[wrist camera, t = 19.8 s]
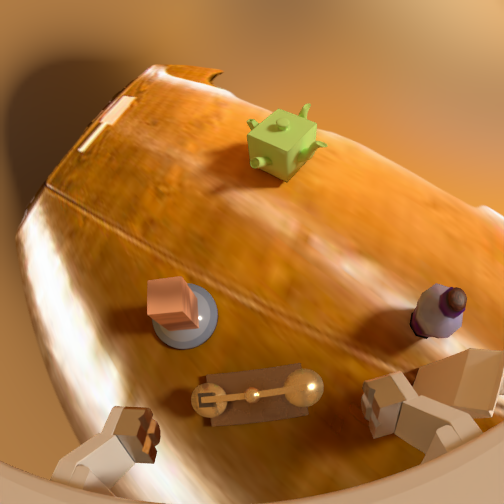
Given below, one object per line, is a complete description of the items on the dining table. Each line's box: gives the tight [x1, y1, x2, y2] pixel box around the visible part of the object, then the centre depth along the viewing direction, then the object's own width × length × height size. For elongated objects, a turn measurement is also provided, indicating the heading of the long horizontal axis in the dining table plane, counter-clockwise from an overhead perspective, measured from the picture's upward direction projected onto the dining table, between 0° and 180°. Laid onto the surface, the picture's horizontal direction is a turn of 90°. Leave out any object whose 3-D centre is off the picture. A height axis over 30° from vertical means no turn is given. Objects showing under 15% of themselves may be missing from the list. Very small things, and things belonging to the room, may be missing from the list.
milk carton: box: [413, 348, 504, 418], centre depth 29 cm, size 7×7×19 cm
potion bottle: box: [410, 284, 467, 339], centre depth 38 cm, size 9×9×12 cm
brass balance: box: [191, 363, 323, 426], centre depth 36 cm, size 8×18×11 cm, turn 97°
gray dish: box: [152, 284, 218, 349], centre depth 47 cm, size 11×11×1 cm
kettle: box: [247, 104, 327, 182], centre depth 57 cm, size 15×14×11 cm
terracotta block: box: [147, 276, 199, 331], centre depth 43 cm, size 5×5×9 cm
